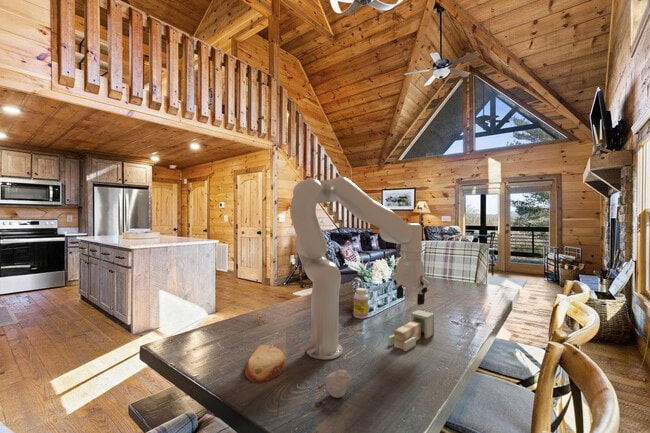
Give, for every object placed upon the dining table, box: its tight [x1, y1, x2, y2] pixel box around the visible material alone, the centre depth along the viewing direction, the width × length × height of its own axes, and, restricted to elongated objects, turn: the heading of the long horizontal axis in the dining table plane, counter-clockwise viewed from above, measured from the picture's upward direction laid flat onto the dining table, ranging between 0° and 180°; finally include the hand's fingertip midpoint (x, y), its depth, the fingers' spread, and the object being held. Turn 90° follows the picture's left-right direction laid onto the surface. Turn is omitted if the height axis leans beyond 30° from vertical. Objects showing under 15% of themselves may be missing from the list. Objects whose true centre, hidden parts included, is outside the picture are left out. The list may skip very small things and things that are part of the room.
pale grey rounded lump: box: [325, 369, 352, 399], centre depth 81 cm, size 6×7×7 cm
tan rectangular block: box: [393, 320, 422, 350], centre depth 116 cm, size 14×4×6 cm, turn 137°
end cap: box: [410, 309, 435, 339], centre depth 124 cm, size 6×7×8 cm
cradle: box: [387, 333, 417, 352], centre depth 113 cm, size 7×7×3 cm
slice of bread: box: [244, 344, 287, 384], centre depth 98 cm, size 18×18×4 cm
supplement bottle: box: [353, 287, 369, 320], centre depth 144 cm, size 7×7×13 cm
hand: (410, 301), depth 117 cm, fingers open, 9 cm apart
